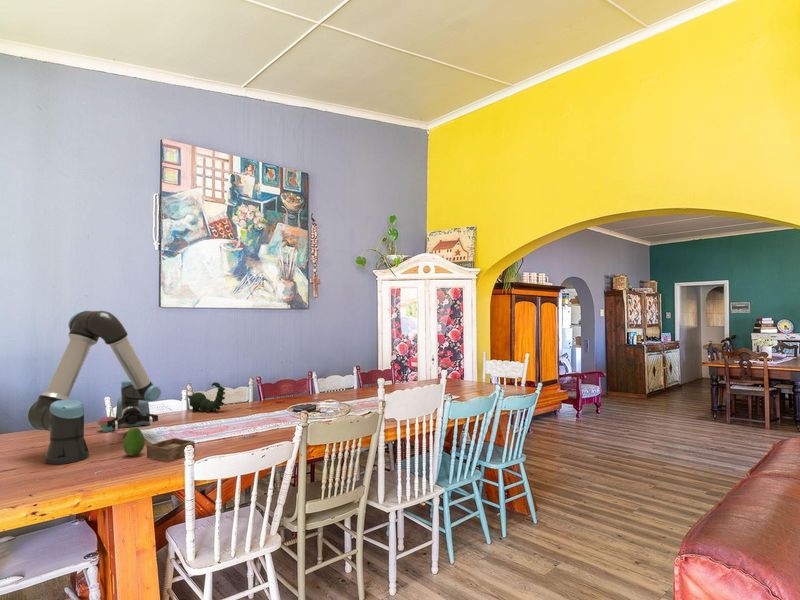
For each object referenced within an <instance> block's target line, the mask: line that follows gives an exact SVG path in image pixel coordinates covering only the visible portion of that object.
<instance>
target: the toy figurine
mask: <svg viewBox="0 0 800 600" xmlns="http://www.w3.org/2000/svg"><path fill="white" fill-rule="evenodd" d="M214 386H215V387H216V388H217V392H216V396H215V399H214V400H210V399H208V398H207V397H206V395H205V394H204V393H202V392H194V393H192V394H191V395H186V397H187V398H188V399H189V400H188V401H189V406H190V407H191V410H192V411H193V412H197V411H199V412H204V411H206V412H205V413H207V412H209V413H210V412H216V411H217V410H218V411H219V410H221V406H224V405H225V402H224V401H223V400H225V398H226V397H225V395H226V392H225V390H226V387H223V386H221V384H220V383H219V382H217V381H216V382H213V383H211V387H214Z"/></svg>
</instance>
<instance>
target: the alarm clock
mask: <svg viewBox="0 0 800 600" xmlns="http://www.w3.org/2000/svg"><path fill="white" fill-rule="evenodd" d="M121 401H122V398H121V396H120V397H119V398H118V400H117V402H116V409H115V410H116V411H115V417H116V416H118V417H119V418H122V414H121V403H122V402H121ZM139 411H140V413H141V414H143V415H145V414H146V413H149V414H151V413H150V412H151V411H150V405H149V401H142V400H139ZM141 425H144V426H148V425H150V423H149V422H147V421H142V422H137V423H136V424H133V425H129V424H121V425H118V429H125V428H132V427H133V426H135V427H142V426H141ZM124 427H125V428H124Z"/></svg>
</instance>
